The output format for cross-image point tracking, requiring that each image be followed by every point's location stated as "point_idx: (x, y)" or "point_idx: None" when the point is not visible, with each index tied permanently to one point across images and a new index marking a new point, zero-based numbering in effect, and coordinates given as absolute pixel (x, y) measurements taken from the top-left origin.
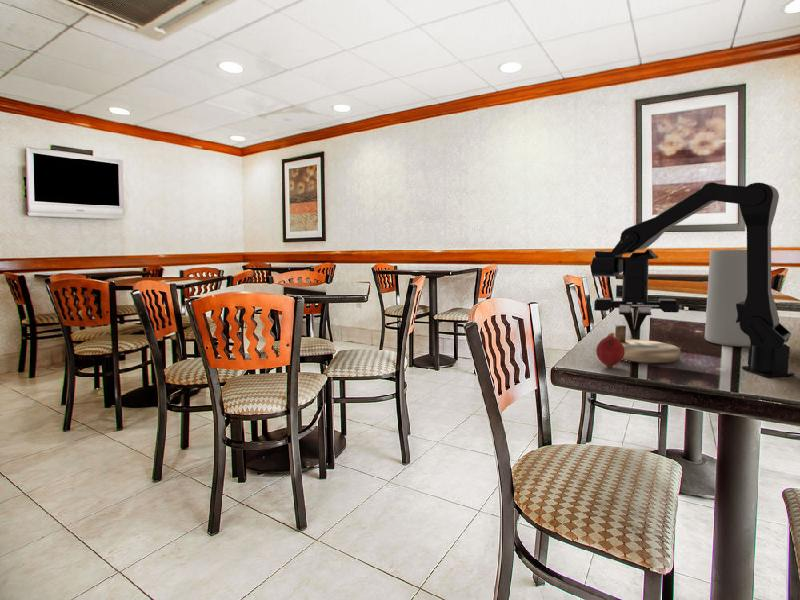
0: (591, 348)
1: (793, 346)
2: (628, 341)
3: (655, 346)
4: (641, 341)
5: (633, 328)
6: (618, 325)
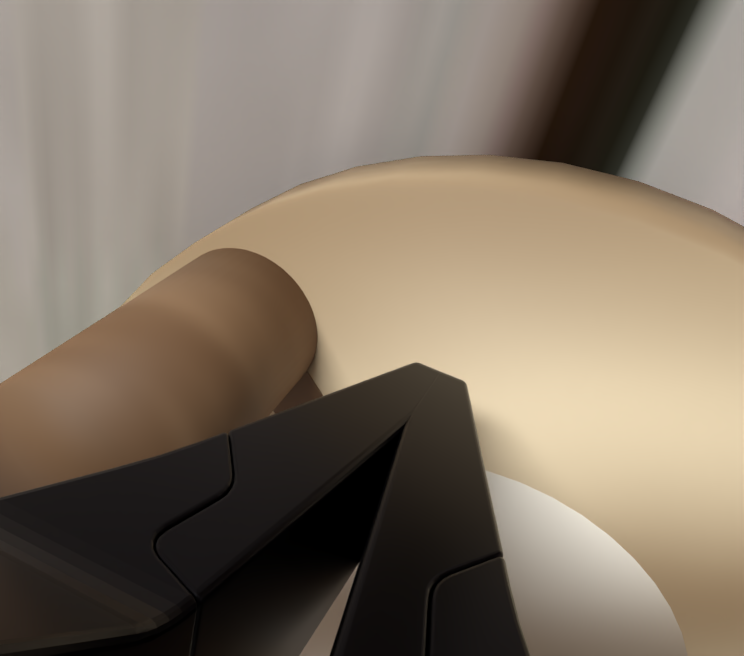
0: (14, 78)
1: None
2: (367, 345)
3: None
4: (594, 369)
5: (303, 635)
6: (16, 429)
